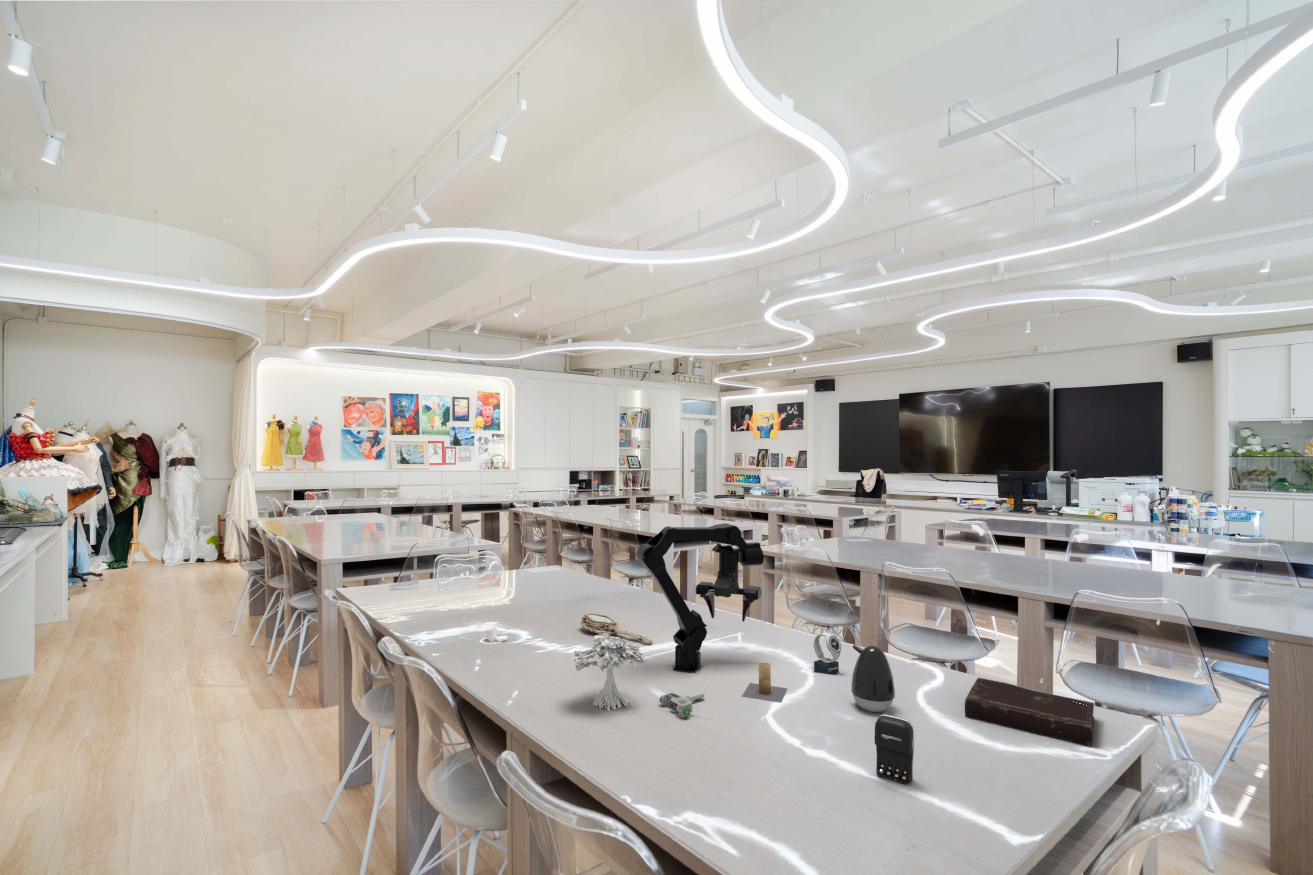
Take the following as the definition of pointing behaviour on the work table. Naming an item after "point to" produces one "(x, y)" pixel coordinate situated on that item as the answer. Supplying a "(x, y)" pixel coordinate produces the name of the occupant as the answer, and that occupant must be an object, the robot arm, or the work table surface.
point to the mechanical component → (680, 703)
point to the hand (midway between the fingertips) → (728, 619)
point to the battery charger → (894, 748)
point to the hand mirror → (608, 626)
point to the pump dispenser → (872, 680)
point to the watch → (825, 663)
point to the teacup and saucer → (493, 636)
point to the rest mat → (775, 695)
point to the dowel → (764, 678)
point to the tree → (609, 665)
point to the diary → (1031, 711)
